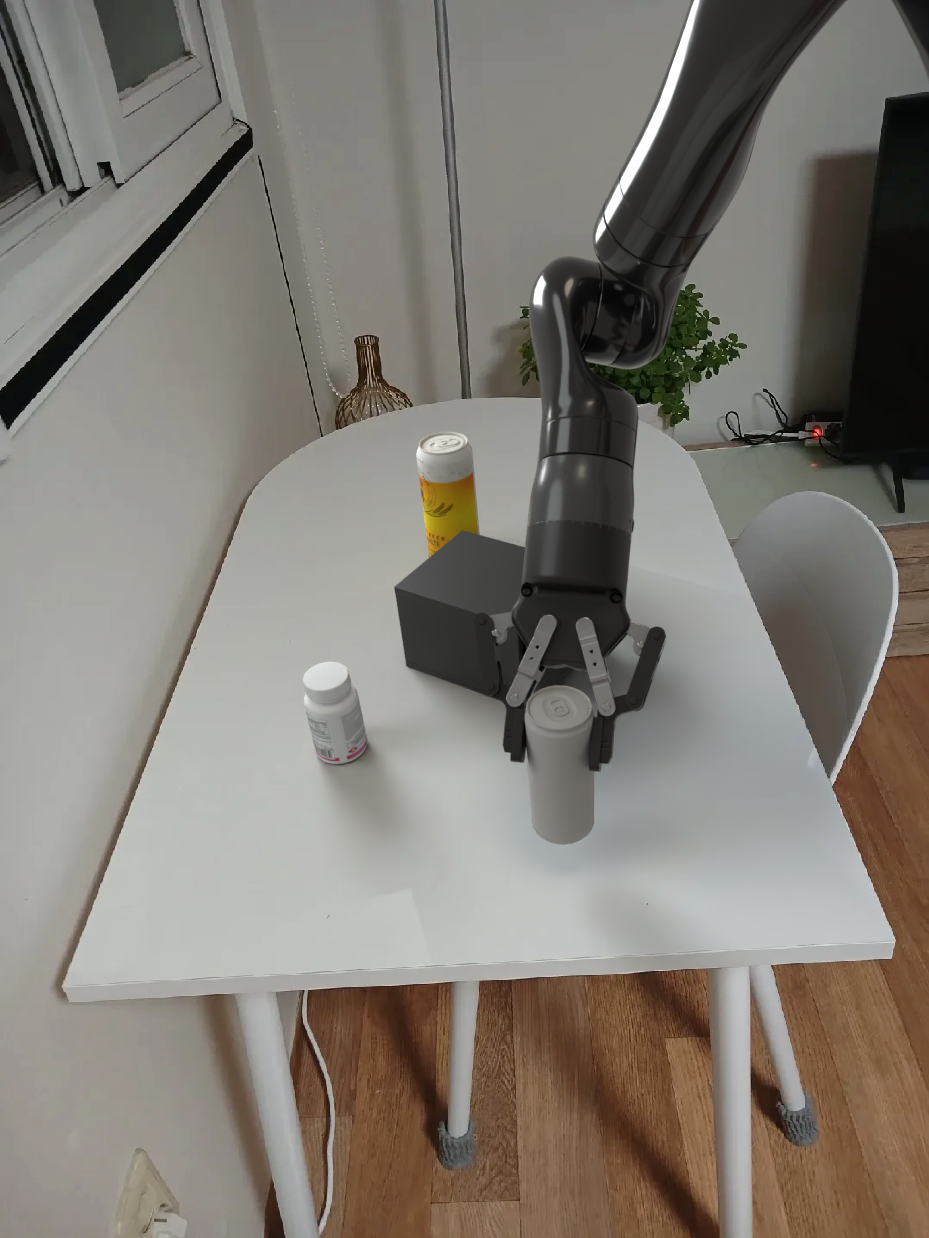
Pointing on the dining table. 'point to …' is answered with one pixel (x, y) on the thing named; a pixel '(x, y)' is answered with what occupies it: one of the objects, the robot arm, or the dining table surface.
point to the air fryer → (460, 607)
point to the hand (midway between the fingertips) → (556, 765)
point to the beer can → (447, 487)
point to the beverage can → (560, 763)
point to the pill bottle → (334, 713)
